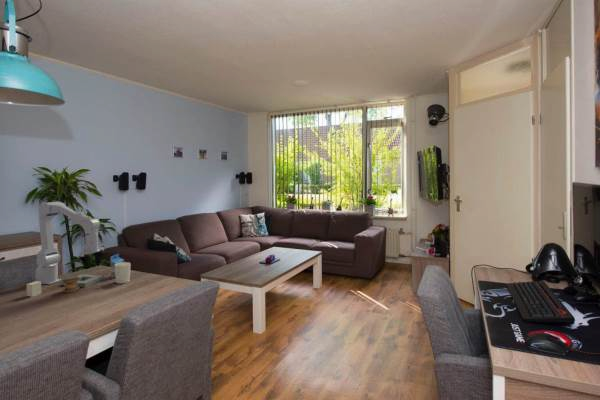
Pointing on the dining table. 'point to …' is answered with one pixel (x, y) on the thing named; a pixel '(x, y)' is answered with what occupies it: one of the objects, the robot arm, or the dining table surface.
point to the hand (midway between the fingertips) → (92, 267)
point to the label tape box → (115, 261)
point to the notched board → (87, 280)
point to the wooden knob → (70, 284)
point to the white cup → (122, 272)
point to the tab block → (34, 288)
